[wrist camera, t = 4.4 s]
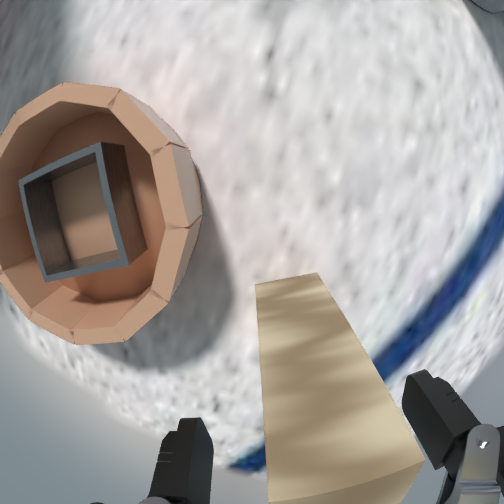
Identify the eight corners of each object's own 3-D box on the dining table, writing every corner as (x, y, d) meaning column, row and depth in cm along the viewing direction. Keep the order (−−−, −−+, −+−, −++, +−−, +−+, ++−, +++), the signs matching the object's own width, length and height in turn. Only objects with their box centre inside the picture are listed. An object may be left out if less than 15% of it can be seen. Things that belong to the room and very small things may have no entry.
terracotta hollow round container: (178, 73, 14) (154, 42, 10) (224, 290, 18) (216, 331, 13) (15, 146, 15) (-29, 146, 10) (59, 314, 19) (25, 346, 14)
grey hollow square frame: (124, 145, 15) (100, 141, 12) (147, 249, 16) (129, 265, 14) (46, 176, 15) (18, 180, 12) (69, 267, 17) (44, 282, 14)
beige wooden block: (316, 272, 18) (425, 459, 5) (322, 325, 19) (397, 507, 6) (255, 284, 18) (268, 501, 5) (265, 336, 19) (285, 535, 6)
